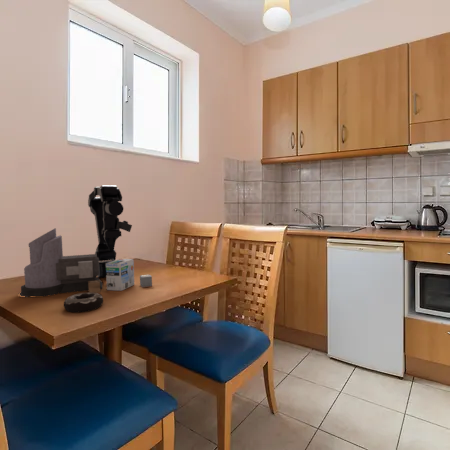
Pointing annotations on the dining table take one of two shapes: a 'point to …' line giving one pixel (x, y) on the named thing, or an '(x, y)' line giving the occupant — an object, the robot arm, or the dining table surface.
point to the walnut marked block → (94, 286)
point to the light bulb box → (120, 274)
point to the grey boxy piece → (57, 268)
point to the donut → (83, 302)
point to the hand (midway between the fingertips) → (112, 252)
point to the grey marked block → (145, 280)
